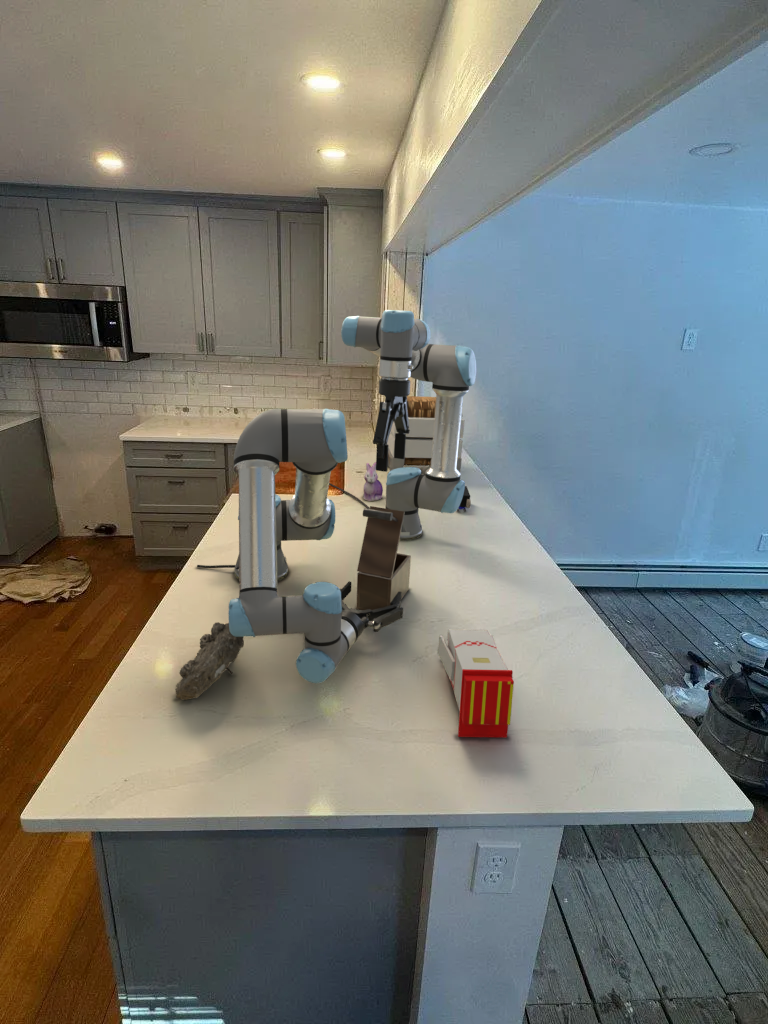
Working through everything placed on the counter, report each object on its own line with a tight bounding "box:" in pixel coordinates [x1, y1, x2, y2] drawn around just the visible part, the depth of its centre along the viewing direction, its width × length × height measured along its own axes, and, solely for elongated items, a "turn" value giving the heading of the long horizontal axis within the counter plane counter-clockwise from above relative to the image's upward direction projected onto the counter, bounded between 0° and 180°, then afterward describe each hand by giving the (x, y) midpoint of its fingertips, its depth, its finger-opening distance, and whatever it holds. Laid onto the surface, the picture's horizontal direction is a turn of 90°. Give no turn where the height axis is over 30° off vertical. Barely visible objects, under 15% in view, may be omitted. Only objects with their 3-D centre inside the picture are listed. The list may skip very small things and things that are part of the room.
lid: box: [356, 505, 405, 578], centre depth 141 cm, size 17×9×8 cm
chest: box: [355, 552, 412, 610], centre depth 153 cm, size 17×9×10 cm, turn 160°
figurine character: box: [456, 485, 472, 513], centre depth 228 cm, size 7×8×15 cm
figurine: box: [362, 461, 384, 502], centre depth 233 cm, size 9×10×15 cm
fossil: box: [174, 622, 245, 701], centre depth 119 cm, size 22×10×15 cm
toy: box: [437, 628, 515, 738], centre depth 117 cm, size 12×13×30 cm
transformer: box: [387, 395, 465, 475], centre depth 268 cm, size 34×33×41 cm
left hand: (374, 591), depth 145 cm, fingers open, 13 cm apart
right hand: (390, 464), depth 143 cm, fingers open, 13 cm apart
